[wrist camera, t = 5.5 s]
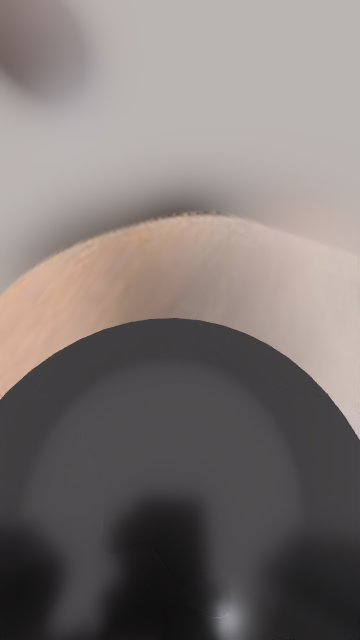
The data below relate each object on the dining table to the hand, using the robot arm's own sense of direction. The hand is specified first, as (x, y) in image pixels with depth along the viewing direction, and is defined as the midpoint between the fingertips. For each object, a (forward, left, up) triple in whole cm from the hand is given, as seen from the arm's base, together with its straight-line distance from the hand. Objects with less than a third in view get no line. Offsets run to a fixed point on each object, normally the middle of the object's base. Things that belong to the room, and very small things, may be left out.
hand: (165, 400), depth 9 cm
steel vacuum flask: (-1, +1, -7) cm, 7 cm away
